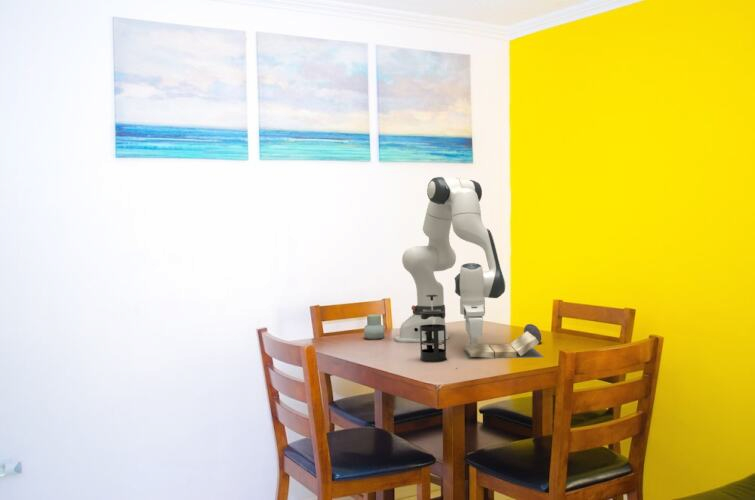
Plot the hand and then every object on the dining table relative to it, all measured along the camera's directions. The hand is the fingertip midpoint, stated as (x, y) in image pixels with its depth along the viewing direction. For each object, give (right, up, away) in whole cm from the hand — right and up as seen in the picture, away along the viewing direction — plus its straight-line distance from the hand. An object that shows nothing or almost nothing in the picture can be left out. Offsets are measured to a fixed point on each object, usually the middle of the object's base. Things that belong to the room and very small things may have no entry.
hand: (473, 347), depth 251 cm
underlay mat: (+10, -3, 0) cm, 11 cm away
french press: (-15, -4, -3) cm, 16 cm away
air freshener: (-36, -3, +48) cm, 60 cm away
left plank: (+2, -2, 0) cm, 3 cm away
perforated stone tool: (+27, -2, +24) cm, 36 cm away
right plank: (+19, +1, 0) cm, 19 cm away
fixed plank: (+10, -2, 0) cm, 11 cm away
